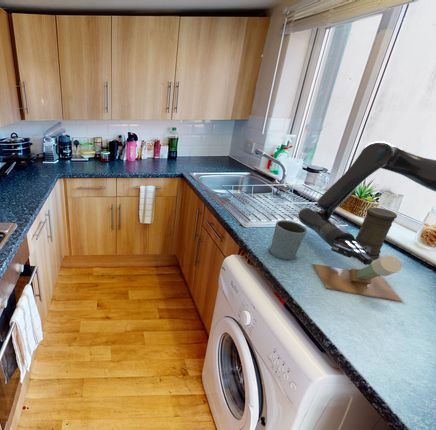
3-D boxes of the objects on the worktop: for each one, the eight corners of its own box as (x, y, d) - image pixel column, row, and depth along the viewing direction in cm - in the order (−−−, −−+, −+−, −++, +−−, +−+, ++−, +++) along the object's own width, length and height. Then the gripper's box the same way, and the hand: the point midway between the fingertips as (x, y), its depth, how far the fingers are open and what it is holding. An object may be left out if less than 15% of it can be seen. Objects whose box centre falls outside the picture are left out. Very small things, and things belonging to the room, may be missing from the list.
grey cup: (270, 244, 117) (278, 218, 112) (298, 252, 112) (308, 225, 107) (266, 255, 110) (274, 227, 105) (296, 264, 105) (306, 235, 100)
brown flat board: (378, 275, 99) (378, 274, 99) (401, 302, 87) (402, 300, 87) (313, 265, 104) (313, 263, 104) (326, 288, 92) (327, 287, 92)
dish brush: (366, 271, 95) (400, 256, 81) (367, 286, 93) (403, 274, 79) (348, 268, 97) (379, 253, 83) (350, 283, 95) (381, 270, 81)
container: (381, 254, 112) (402, 213, 104) (373, 262, 107) (394, 218, 99) (354, 245, 118) (371, 204, 111) (345, 251, 114) (362, 209, 106)
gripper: (320, 226, 106) (351, 251, 90) (358, 228, 105) (396, 253, 89) (314, 244, 109) (343, 270, 93) (350, 246, 108) (386, 273, 92)
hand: (369, 262), depth 91 cm, fingers closed
